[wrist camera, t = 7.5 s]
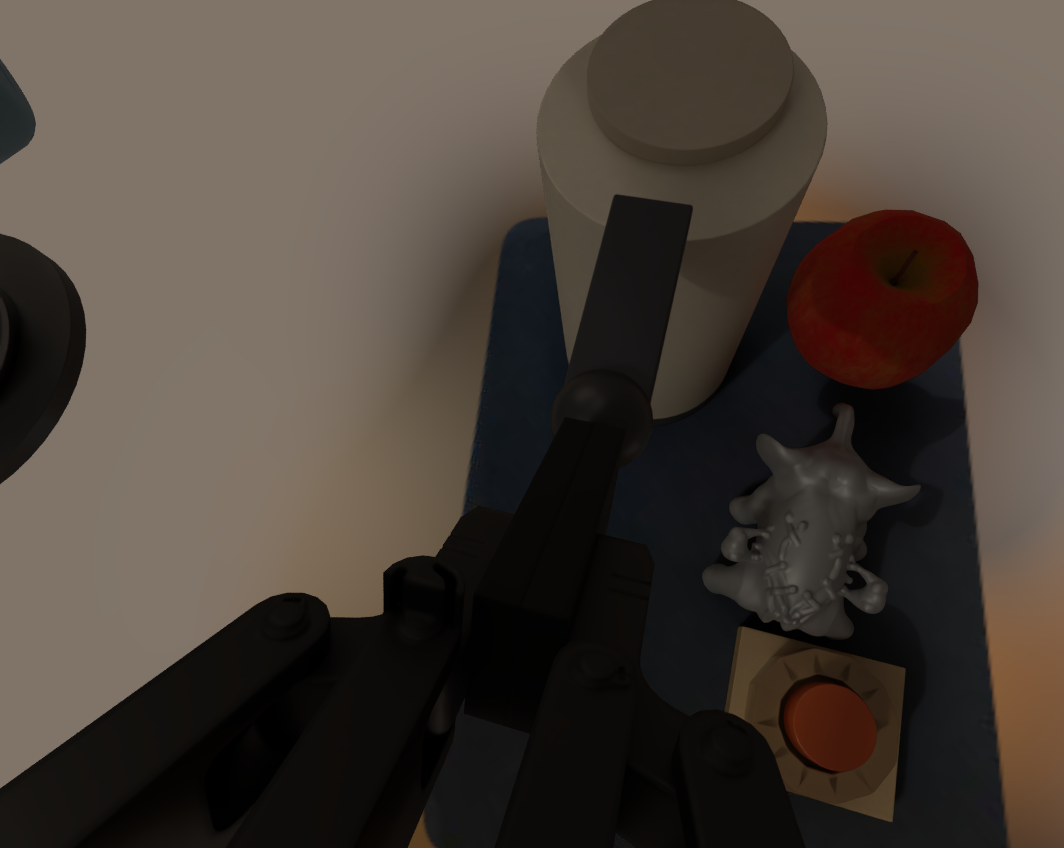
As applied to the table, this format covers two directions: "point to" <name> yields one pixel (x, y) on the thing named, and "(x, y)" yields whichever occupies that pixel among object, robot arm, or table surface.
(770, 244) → the beige cylinder
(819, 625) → the grey toy figure
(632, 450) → the switch
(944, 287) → the apple
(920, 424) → the table surface
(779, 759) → the button base
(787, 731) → the button
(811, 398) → the table surface
